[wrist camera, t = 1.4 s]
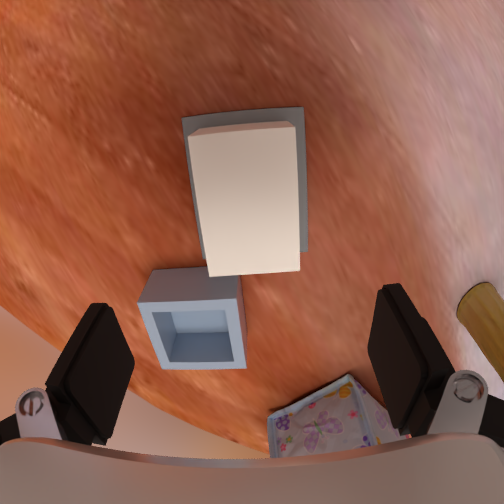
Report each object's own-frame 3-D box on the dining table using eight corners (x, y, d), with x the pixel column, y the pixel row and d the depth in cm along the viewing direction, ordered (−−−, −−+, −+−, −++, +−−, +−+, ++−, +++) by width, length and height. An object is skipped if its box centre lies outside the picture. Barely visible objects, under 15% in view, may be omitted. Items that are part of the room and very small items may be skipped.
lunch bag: (420, 416, 42) (460, 548, 19) (336, 455, 48) (352, 581, 24) (371, 356, 34) (429, 570, 11) (259, 412, 39) (260, 596, 16)
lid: (199, 128, 22) (187, 136, 18) (287, 120, 22) (295, 127, 18) (215, 247, 27) (209, 276, 23) (293, 242, 27) (299, 270, 23)
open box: (152, 269, 28) (137, 302, 24) (238, 264, 28) (236, 298, 24) (171, 334, 32) (162, 369, 28) (247, 331, 32) (246, 368, 28)
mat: (182, 117, 22) (181, 118, 22) (302, 107, 22) (303, 107, 21) (203, 256, 28) (203, 259, 27) (307, 249, 27) (307, 251, 27)
